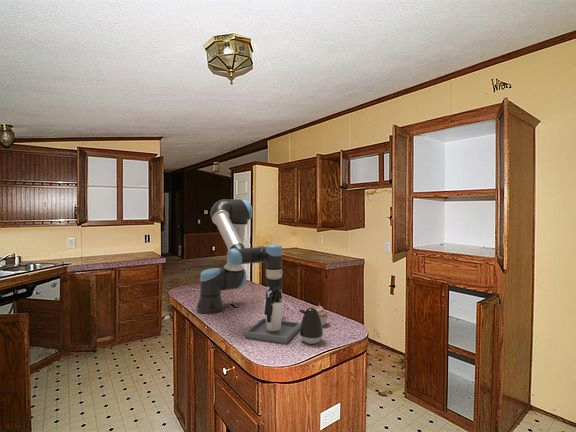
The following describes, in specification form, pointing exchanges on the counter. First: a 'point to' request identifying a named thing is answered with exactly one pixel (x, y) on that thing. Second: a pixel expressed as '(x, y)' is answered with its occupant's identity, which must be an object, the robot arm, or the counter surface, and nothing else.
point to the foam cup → (276, 314)
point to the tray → (273, 332)
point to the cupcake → (322, 314)
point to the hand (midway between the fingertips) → (273, 325)
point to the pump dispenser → (311, 326)
